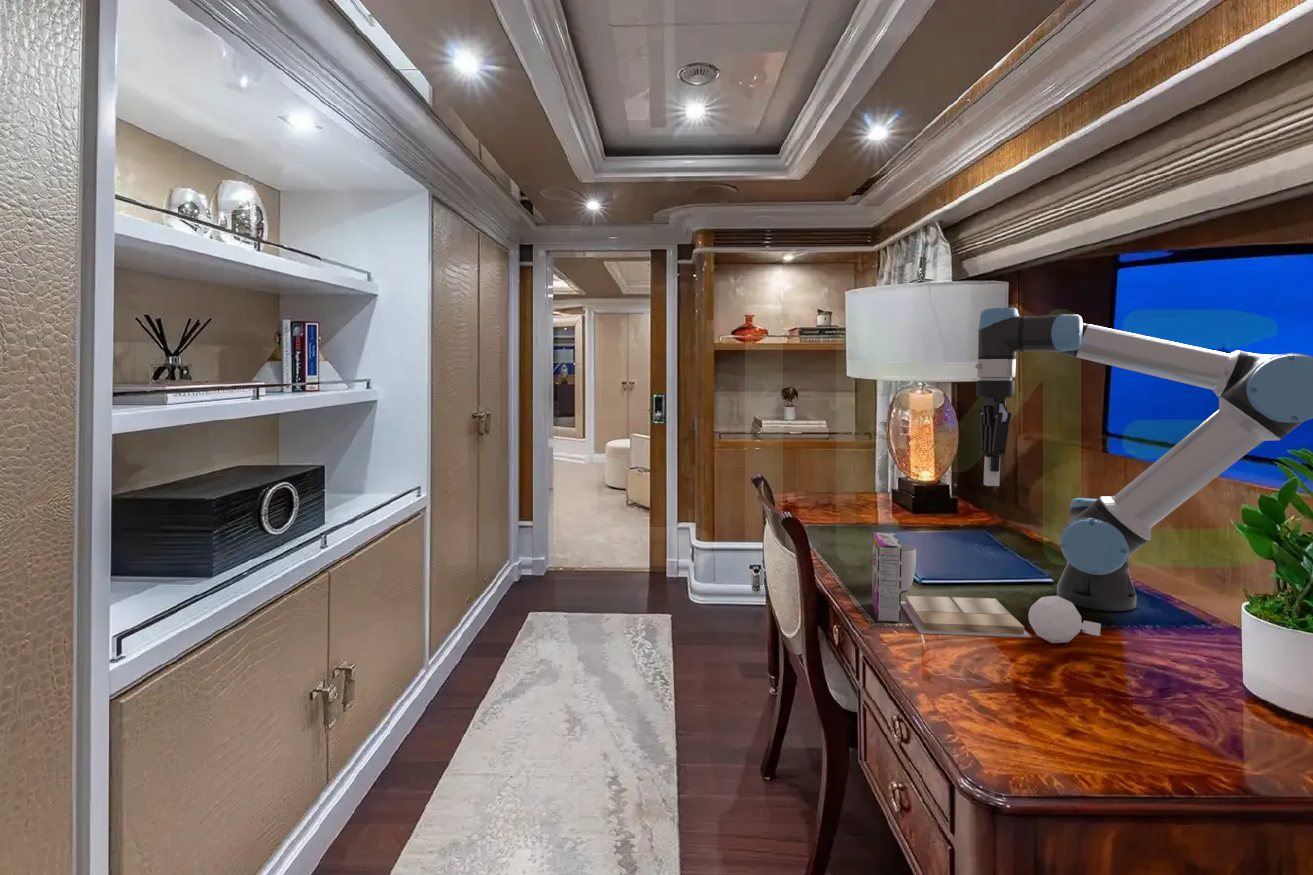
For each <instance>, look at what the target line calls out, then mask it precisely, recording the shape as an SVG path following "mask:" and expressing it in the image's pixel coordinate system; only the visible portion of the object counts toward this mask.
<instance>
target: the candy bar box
mask: <svg viewBox="0 0 1313 875" xmlns="http://www.w3.org/2000/svg"><path fill="white" fill-rule="evenodd" d="M901 554H902V547H901V545H900V542H899V539H898V536H897V535H896V534H895V533H892V532H890V533H889V532H888V533H886V532H873V533H872V570H871V571H872V572H871V573H872V574H871V575H872V580H871V581H872V583H871V584H872V585H871V586H872V587H871V588H872V589H871V593H872V594H871V604H872V606H873V610H874V613H875V616H876V619H877V621H878V622H887V623H888V622H889V623H900V622H901V611H902V610H901V608H902V606H901V601H902V592H901Z"/></svg>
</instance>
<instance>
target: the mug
mask: <svg viewBox="0 0 1313 875" xmlns="http://www.w3.org/2000/svg"><path fill="white" fill-rule="evenodd" d="M899 543H900V542H899ZM900 545H901V547H902V554H901V593H903V592H907V591H908V590H910V588H911V586H912V584H913V583H914V579H915V578H914V577H915V575H916V574H915V573H916V566H917V548H916V547H915V546H914V545H910V544H907V543H900Z"/></svg>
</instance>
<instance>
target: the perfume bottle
mask: <svg viewBox="0 0 1313 875" xmlns="http://www.w3.org/2000/svg"><path fill="white" fill-rule="evenodd" d="M1028 622H1029V624H1030V625H1031V628H1032V629H1033V631H1034V632H1035V635H1036V636H1037V637H1040V639H1041V638H1042V639H1043V640H1045V641H1047V642H1049V643H1051V644H1060V643H1069V642H1071V640H1073V638H1075V637H1076V636H1077V635H1078V634H1080V633H1083V634H1088V635H1092V636H1097V637H1100V636H1101V628H1102V627H1101V626H1102V623H1098V622H1094V621H1089V620H1083V622H1082V616H1081V614H1080V612H1079V611H1078V609H1077V608H1076V605H1074V604H1073V603H1072V602H1070V601H1068V600H1065V599H1063V598H1061V597H1059V596H1057V595H1049V596H1042V597H1040V598H1038V600H1036V601H1035V602H1034V603H1033V604H1032V605H1031V606H1030V608H1029V611H1028ZM1081 630H1082V631H1081Z"/></svg>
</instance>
